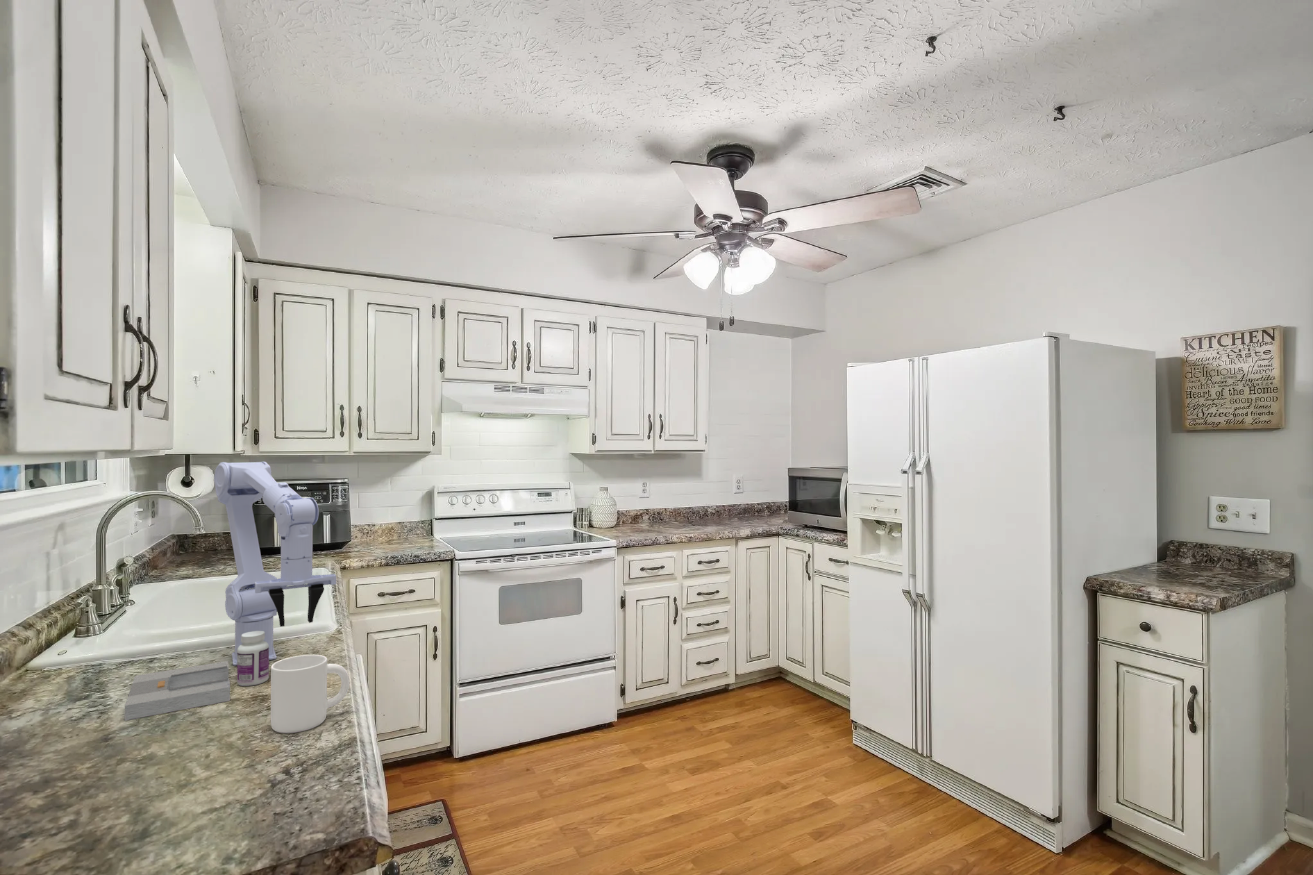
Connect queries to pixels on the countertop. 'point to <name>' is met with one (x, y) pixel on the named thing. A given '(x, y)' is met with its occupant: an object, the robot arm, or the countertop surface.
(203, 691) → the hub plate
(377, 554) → the countertop surface
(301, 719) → the mug
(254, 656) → the pill bottle
